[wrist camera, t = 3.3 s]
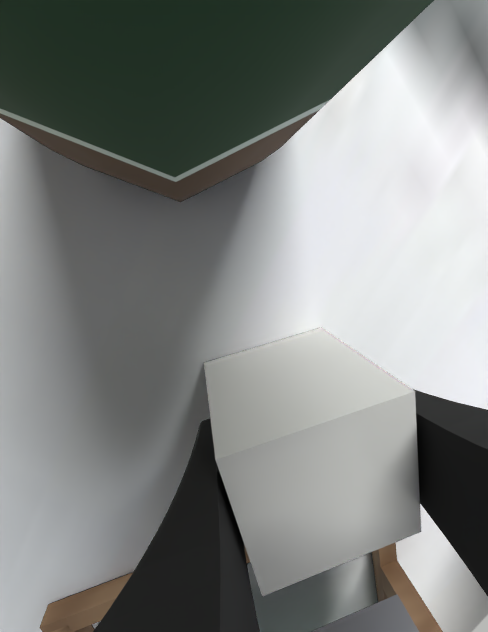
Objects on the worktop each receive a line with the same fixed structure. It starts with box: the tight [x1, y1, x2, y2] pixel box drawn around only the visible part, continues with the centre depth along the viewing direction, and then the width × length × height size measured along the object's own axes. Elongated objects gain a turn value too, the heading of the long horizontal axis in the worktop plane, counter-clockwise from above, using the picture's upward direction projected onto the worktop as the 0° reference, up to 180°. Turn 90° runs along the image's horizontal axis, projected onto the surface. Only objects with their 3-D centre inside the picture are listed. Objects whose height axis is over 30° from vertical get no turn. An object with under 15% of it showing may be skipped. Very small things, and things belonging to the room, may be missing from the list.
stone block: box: [204, 327, 421, 597], centre depth 10 cm, size 5×5×5 cm
